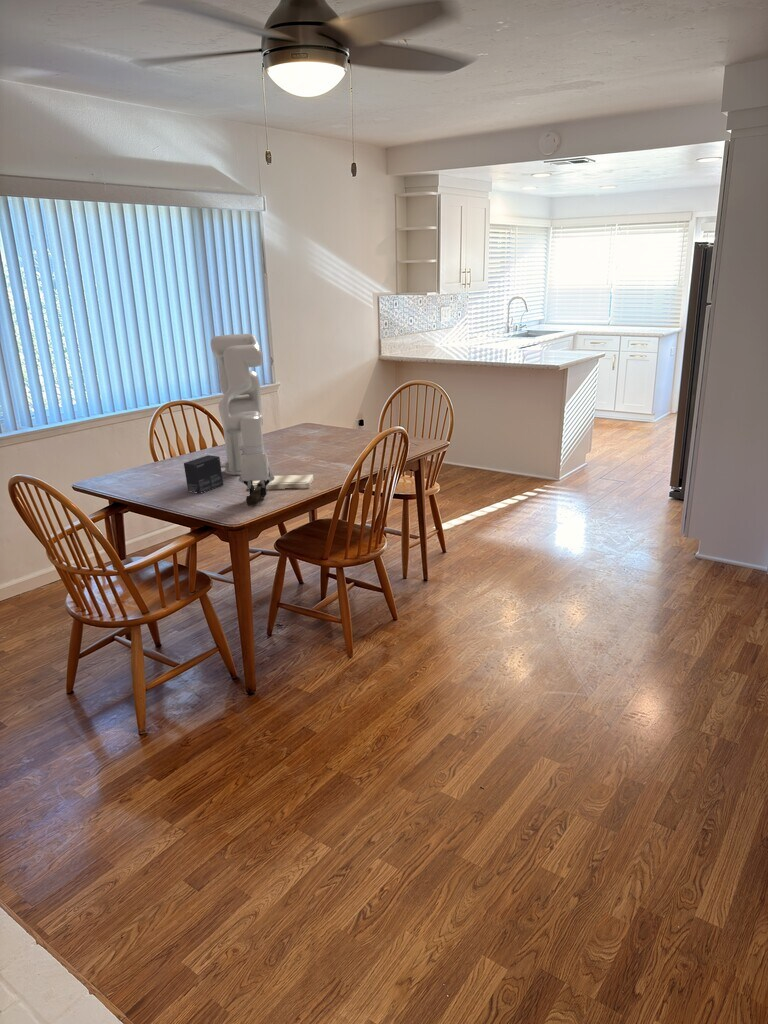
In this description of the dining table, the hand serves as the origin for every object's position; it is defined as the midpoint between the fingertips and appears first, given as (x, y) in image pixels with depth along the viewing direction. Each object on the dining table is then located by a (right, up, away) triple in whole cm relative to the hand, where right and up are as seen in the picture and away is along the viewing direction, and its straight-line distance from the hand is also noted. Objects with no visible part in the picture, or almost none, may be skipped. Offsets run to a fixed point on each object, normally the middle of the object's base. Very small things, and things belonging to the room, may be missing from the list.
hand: (258, 496), depth 264 cm
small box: (-24, +3, +17) cm, 29 cm away
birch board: (+6, +5, +17) cm, 19 cm away
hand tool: (0, -1, 0) cm, 1 cm away
